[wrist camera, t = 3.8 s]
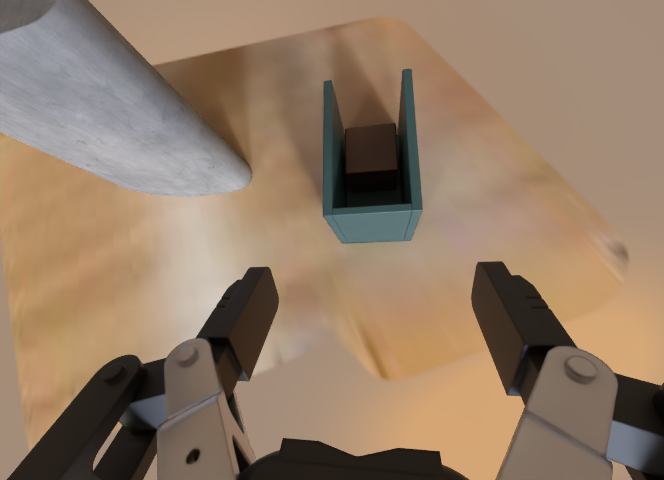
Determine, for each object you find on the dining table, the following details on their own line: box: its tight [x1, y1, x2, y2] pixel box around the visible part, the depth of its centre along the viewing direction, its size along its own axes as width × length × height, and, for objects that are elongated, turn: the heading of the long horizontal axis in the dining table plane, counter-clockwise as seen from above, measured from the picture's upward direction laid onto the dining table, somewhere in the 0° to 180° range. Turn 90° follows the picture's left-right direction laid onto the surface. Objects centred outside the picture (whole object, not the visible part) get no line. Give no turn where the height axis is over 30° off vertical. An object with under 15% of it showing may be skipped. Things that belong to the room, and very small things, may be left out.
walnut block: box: [345, 123, 398, 193], centre depth 24 cm, size 4×4×4 cm
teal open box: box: [323, 69, 423, 243], centre depth 22 cm, size 10×6×8 cm, turn 0°
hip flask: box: [0, 0, 252, 196], centre depth 20 cm, size 16×4×20 cm, turn 85°
